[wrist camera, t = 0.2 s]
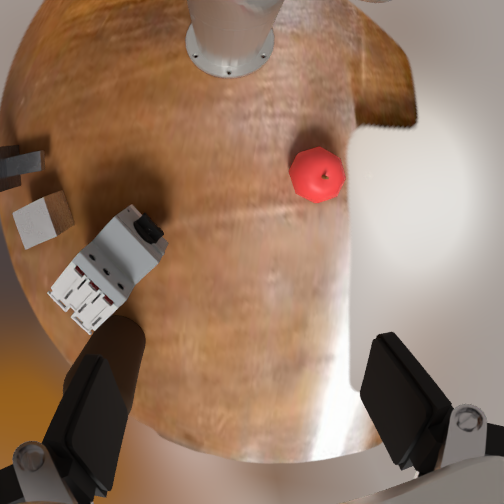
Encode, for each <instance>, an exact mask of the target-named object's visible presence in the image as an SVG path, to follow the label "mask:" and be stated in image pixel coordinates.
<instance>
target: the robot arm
mask: <svg viewBox="0 0 504 504" xmlns="http://www.w3.org/2000/svg"><path fill="white" fill-rule="evenodd" d="M361 1H366V2H372V3H384V2H388V1H391V0H361ZM283 2H284V0H187V3H188V8H189V12H190V17H191V21H192V23H191V25H190V26H189V29H188V31H187V34H186V49H187V52H188V55H189V57H190V59H191V60H192V62H193V63H194V64H195V65H196V66H197V67H198V68H199V69H200V70H202V71H203V72H205V73H207V74H209V75H212V76H214V77H219V78H229V79H232V78H240V77H243V76H247V75H249V74H251V73H253V72H255V71H257V70H258V69H259V68H261V67H262V66H263V65H264V64H265V63H266V62H267V60H268V59H269V57H270V55H271V53H272V51H273V47H274V34H273V30H272V28H271V27H272V25H273V23H274V21H275V19H276V17H277V15H278V13H279V11H280V8H281V7H282V4H283ZM195 56H198V57H197V58H194V57H195ZM261 56H264V57H265V58H262V57H261ZM228 72H230V73H231V74H230V75H228V74H227V73H228ZM360 397H361V400H362V402H363V404H364V406H365V408H366V410H367V412H368V414H369V416H370V418H371V419H372V421H373V423H374V425H375V427H376V429H377V431H378V433H379V435H380V437H381V439H382V441H383V443H384V445H385V447H386V449H387V451H388V453H389V455H390V457H391V459H392V461H393V463H394V464H395V465H399V467H400V469H401V470H404V469H407V468H409V467H412V466H414V468H415V470H416V474H415V477H414V479H413V480H411V481H408V482H405V483H403V484H400V485H397V486H395V487H392V488H389V489H386V490H383V491H380V492H377V493H374V494H371V495H368V496H364V497H361V498H358V499H354V500H350V501H347V502H343V503H339V504H504V427H503V426H499V425H494V424H490V423H487V419H486V416H485V414H484V412H483V411H482V410H481V409H480V408H478V407H477V406H474V405H471V404H463V405H459V406H457V407H456V408H455V409H454V408H453V407H452V406H451V404H452V403H451V402H450V401H449V400H448V398H447V397H446V396H445V394H444V393H443V392H442V391H441V389H440V388H439V387H438V385H437V384H436V383H435V382H434V380H433V379H432V378H431V377H430V375H429V374H428V373H427V372H426V370H425V369H424V368H423V367H422V365H421V364H420V363H419V362H418V361H417V359H416V358H415V357H414V356H413V355H412V353H411V352H410V351H409V350H408V348H407V347H406V346H405V345H404V344H403V343H402V341H401V340H400V339H399V338H398V337H397V335H396V334H395V333H393V332H388V333H383V334H379V335H378V336H377V337H376V339H374V340H373V342H372V345H371V350H370V355H369V358H368V363H367V367H366V371H365V375H364V379H363V382H362V386H361V390H360ZM127 419H128V411H127V408H126V405H125V403H124V401H123V398H122V396H121V394H120V391H119V389H118V386H117V384H116V381H115V378H114V376H113V373H112V370H111V368H110V365H109V362H108V360H107V359H104V358H103V356H102V355H100V354H85V356H84V357H83V359H82V361H81V363H80V365H79V367H78V369H77V371H76V373H75V375H74V376H73V378H72V380H71V382H70V384H69V386H68V388H67V390H66V391H65V393H64V395H63V397H62V400H61V401H60V404H59V406H58V408H57V410H56V412H55V414H54V417H53V419H52V421H51V423H50V426H49V427H48V430H47V432H46V434H45V437H44V439H43V441H42V443H39V442H37V441H28V442H25V443H23V444H21V445H20V446H19V447H18V448H17V449H16V450H15V452H14V454H13V464H12V465H10V466H8V467H5V468H3V469H1V470H0V504H94V503H93V499H94V495H95V496H100V497H106V495H107V491H111V489H112V486H113V481H114V476H115V471H116V467H117V461H118V457H119V453H120V448H121V444H122V439H123V435H124V432H125V427H126V423H127Z"/></svg>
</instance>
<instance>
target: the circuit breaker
mask: <svg viewBox="0 0 504 504" xmlns="http://www.w3.org/2000/svg"><path fill="white" fill-rule="evenodd" d="M163 235H164V233H163V231H162V230H161V229H160V228H158V227H157V226H156V225H155V223H154V222H153V221H152V220H151V218H150V217H149V216H148V215H147V214H146V213H144V214H143V215H142V214H141V213H140V212H139V211H138V210H137V209H136V208H135V207H134V206H133V205H132V204H131V205H130V206H128V207H127V208H126V209H124V210H123V211H121V212H120V213H119V214H117V215H116V216H115V217H114V218H113V219H112V220H111V221H110V222H109V223H108V224H107V225H106V226H105V227H104V228H103V230H102V231H101V232H100V233H99V234H98V235H97V236H96V237H95V239H94V240H93V241H92V242H91V243H89V244H88V245H87V246H86V247H85V248H84V249H82V250H81V251H80V252H79V253H78V254H77V256H76V257H75V258H74V259H73V260H72V262H71V263H70V264H69V265H68V267H67V268H66V269H65V270H64V272H63V273H62V274H61V276H60V277H59V278H58V279H57V281H56V282H55V283H54V285H53V286H52V287H51V289H52V290H53V291H52V292H50V291H48V293H47V294H48V295H49V296H50V297H51V298H52V299H53V300H54V301H55V302H56V303H57V304H58V305H59V306H60V307H61V308H62V309H63V310H64V311H65V312H67V310H68V309H69V308H70V307H71V308H72V309H73V310H74V311H75V312H74V313H73V314H72V316H71V318H72V319H73V320H74V321H75V322H76V323H77V324H78V325H80V326H81V327H82V328H83V329H84V330H85V331H86V332H87V333H88V334H89V335H91V334H92V332H91V330H92V329H93V330H94V331H95V330H96V329H97V328H98V327H99V326H100V325H101V324H102V323H103V322H104V321H105V320H106V319H107V318H108V317H110V316H111V315H112V314H113V313H114V312H115V311H116V310H117V309H118V308H119V307H120V306H121V305H122V304H123V303H124V302H125V301H126V300H127V299H128V297H129V295H130V293H131V291H132V290H133V288H134V286H135V285H136V284H137V283H138V282H139V281H140V280H141V279H142V278H143V277H144V276H145V275H146V274H147V273H148V272H149V271H151V270H152V269H153V268H154V267H155V266H156V265H157V264H158V263H159V262H160V260H161V258H162V256H163V255H164V253H165V252H164V251H165V249H166V247H167V245H168V242H167V241H166V240H165V239H164V238H163V237H162V236H163ZM60 300H61V301H62V302H63V303H64V304H65V305H66V306H64V305H63V304H62V303H61V302H60ZM76 317H78V318H79V319H80V320H81V321H82V322H81V321H79V320H78V319H77V318H76Z"/></svg>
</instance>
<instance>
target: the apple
mask: <svg viewBox="0 0 504 504" xmlns="http://www.w3.org/2000/svg"><path fill="white" fill-rule="evenodd" d="M289 174H290V177H291V180H292V183H293V186H294V189H295V192H296V194H298V195H300V196H302V197H304V198H306V199H308V200H310V201H312V202H313V203H320V202H323V201H325V200H328V199H331V198H334V197H337V195H338V193H339V191H340V189H341V187H342V186H343V184H344V182H345V180H346V176H345V173H344V169H343V166H342V162H341V159H340V158H339V157H337V156H336V155H334V154H332V153H331V152H329V151H327V150H325V149H324V148H322V147H320V146H319V147H315V148H312V149H309V150H306V151H302V152H299V153H298V154H297V155H296V157H295V159H294V161H293V163H292V165H291V167H290V169H289Z"/></svg>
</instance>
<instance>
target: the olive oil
mask: <svg viewBox="0 0 504 504" xmlns="http://www.w3.org/2000/svg"><path fill="white" fill-rule="evenodd" d="M145 343H146V341H145V336H144V333H143V331H142V330H141V328H140V327H139V326H138V325H137V324H136V323H135V322H133V321H132V320H130V319H128V318H126V317H122V316H110V317H108V318H107V319H106V320H105V321H104V322H103V323H102V324H101V325H100V326H99V327H98V328H97V329H96V330H95V331H94V333H93V335H92V336H91V338H90V339H89V341H88V342H87V344H86V345H85V347H84V348H83V350H82V351H81V353H80V355H79V356H78V358H77V359H76V361H75V362H74V364H73V365H72V367H71V368H70V370H69V372H68V373H67V375H66V377H65V380H64V385H63V395H64V393H65V391H66V390H67V388H68V386H69V384H70V382H71V380H72V378H73V376H74V375H75V373H76V371H77V369H78V367H79V365H80V363H81V361H82V359H83V357H84V356H85V354H100V355H102V356H103V358H104V359H107V360H108V362H109V365H110V368H111V370H112V373H113V376H114V378H115V381H116V384H117V386H118V389H119V391H120V394H121V396H122V398H123V401H124V403H125V405H126V408H127V411H128V415H129V413H130V411H131V408H132V404H133V398H134V393H135V388H136V383H137V378H138V373H139V369H140V364H141V360H142V356H143V352H144V349H145Z"/></svg>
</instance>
